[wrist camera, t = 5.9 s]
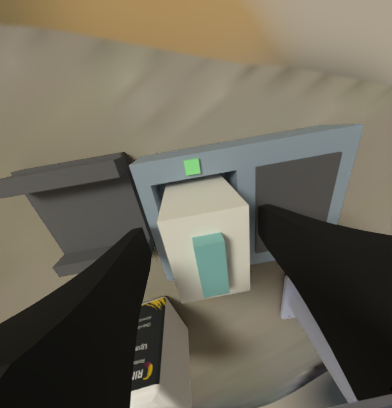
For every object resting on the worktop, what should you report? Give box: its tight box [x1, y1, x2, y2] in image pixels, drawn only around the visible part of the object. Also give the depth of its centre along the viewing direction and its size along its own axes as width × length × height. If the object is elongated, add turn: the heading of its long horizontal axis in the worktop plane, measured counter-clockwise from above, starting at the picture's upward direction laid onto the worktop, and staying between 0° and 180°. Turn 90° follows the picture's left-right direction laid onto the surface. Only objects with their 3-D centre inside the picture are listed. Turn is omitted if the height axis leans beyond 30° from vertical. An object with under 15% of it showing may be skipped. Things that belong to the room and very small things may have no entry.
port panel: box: [129, 124, 364, 281], centre depth 12 cm, size 13×9×3 cm
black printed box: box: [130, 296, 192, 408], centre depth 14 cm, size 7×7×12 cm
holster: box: [0, 152, 155, 277], centre depth 12 cm, size 7×8×2 cm
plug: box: [157, 173, 250, 304], centre depth 10 cm, size 4×5×7 cm
